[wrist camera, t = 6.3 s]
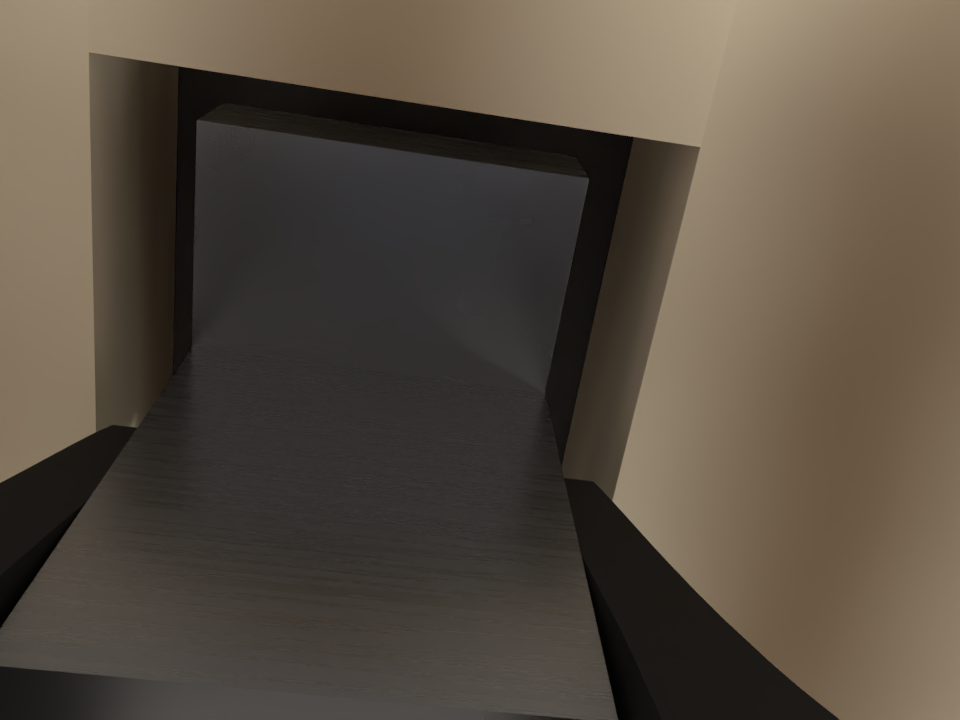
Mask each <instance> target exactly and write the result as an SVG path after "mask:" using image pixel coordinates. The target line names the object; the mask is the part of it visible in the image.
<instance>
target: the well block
mask: <svg viewBox="0 0 960 720" xmlns="http://www.w3.org/2000/svg"><path fill="white" fill-rule="evenodd" d="M178 66H181V67H187V68H193V69H200V70H206V71H213V72H219V73H226V74H232V75H238V76H245V77H251V78H258V79H264V80H271V81H277V82H284V83H290V84H296V85H303V86H309V87H316V88H322V89H329V90H335V91H342V92H348V93H354V94H361V95H367V96H374V97H380V98H387V99H393V100H399V101H406V102H412V103H419V104H425V105H432V106H438V107H445V108H451V109H457V110H464V111H470V112H477V113H483V114H490V115H496V116H503V117H509V118H515V119H522V120H528V121H535V122H541V123H548V124H554V125H560V126H567V127H573V128H580V129H586V130H593V131H599V132H606V133H612V134H618V135H625V136H631V137H634V139H633V143H632V148H631V152H630V157H629V161H628V166H627V171H626V175H625V180H624V184H623V189H622V193H621V198H620V203H619V207H618V212H617V216H616V221H615V225H614V230H613V235H612V239H611V244H610V248H609V253H608V257H607V262H606V266H605V271H604V276H603V280H602V285H601V289H600V294H599V298H598V303H597V308H596V312H595V317H594V321H593V326H592V330H591V335H590V340H589V344H588V349H587V353H586V358H585V362H584V367H583V372H582V376H581V381H580V385H579V390H578V394H577V399H576V404H575V408H574V413H573V417H572V422H571V426H570V431H569V435H568V440H567V445H566V449H565V454H564V458H563V463H562V471H563V476H564V478H569V479H578V480H586V481H593V482H594V483H595V484H596V485H597V486H599V487H600V488H601V489H602V491H603V492H604V493H605V494H606V495H607V496H608V497H609V498H610V499H611V500H612V501H613V502H614V503H615V505H616V506H617V507H618V508H619V509H620V510H621V511H622V512H623V513H624V514H625V516H626V517H627V518H628V519H629V520H630V521H631V522H632V523H633V524H634V526H635V527H636V528H637V529H638V530H639V531H640V532H641V533H642V534H643V535H644V537H645V538H646V539H647V540H648V541H649V542H650V543H651V544H652V545H653V546H654V548H655V549H656V550H657V551H658V552H659V553H660V554H661V555H662V556H663V557H664V558H665V559H666V560H667V562H668V563H669V564H670V565H671V566H672V567H673V568H674V569H675V570H676V571H677V572H678V573H679V574H680V575H681V576H682V577H683V578H684V579H685V581H686V582H687V583H688V584H689V585H690V586H691V587H692V588H693V589H694V590H695V591H696V592H697V593H698V594H699V595H700V596H701V597H702V598H703V599H704V600H705V601H706V602H707V603H708V604H709V605H710V606H711V607H712V608H713V609H714V610H715V611H716V612H717V613H718V614H719V615H720V616H721V617H722V618H723V619H724V620H725V621H726V622H728V623H729V624H730V625H731V626H732V627H733V628H734V629H735V630H736V631H737V632H738V633H739V634H740V635H742V636H743V637H744V638H745V639H746V640H747V641H748V642H749V643H750V644H751V645H752V646H753V647H754V648H756V649H757V650H758V651H759V652H760V653H761V654H762V655H763V656H764V657H765V658H766V659H767V660H769V661H770V662H771V663H772V664H773V665H774V666H775V667H776V668H778V669H779V670H780V671H781V672H782V673H783V674H784V675H786V676H787V677H788V678H789V679H790V680H791V681H793V682H794V683H795V684H796V685H797V686H798V687H800V688H801V689H802V690H803V691H805V692H806V693H807V694H808V695H810V696H811V697H812V698H813V699H815V700H816V701H817V702H818V703H820V704H821V705H822V706H823V707H825V708H826V709H827V710H828V711H830V712H831V713H832V714H833V715H835V716H836V717H837V718H838V719H840V720H960V0H0V483H1V482H3V481H5V480H7V479H8V478H10V477H12V476H14V475H16V474H18V473H20V472H22V471H24V470H26V469H27V468H29V467H31V466H33V465H35V464H37V463H38V462H40V461H42V460H44V459H46V458H48V457H50V456H51V455H53V454H55V453H57V452H59V451H61V450H63V449H64V448H66V447H68V446H70V445H72V444H74V443H76V442H78V441H80V440H82V439H83V438H85V437H87V436H89V435H91V434H93V433H95V432H98V431H100V430H102V429H104V428H107V427H109V426H111V425H118V426H127V427H135V428H138V426H139V425H140V423H141V422H142V420H143V419H144V417H145V416H146V414H147V413H148V411H149V410H150V409H151V407H152V406H153V404H154V403H155V401H156V400H157V398H158V397H159V395H160V394H161V392H162V391H163V389H164V388H165V387H166V385H167V384H168V382H169V381H170V379H171V378H172V376H173V331H174V278H175V224H176V170H177V116H178Z"/></svg>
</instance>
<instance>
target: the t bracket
mask: <svg viewBox="0 0 960 720" xmlns="http://www.w3.org/2000/svg"><path fill="white" fill-rule="evenodd" d="M588 183H589V178H588V176H587V175H586V173H585V172H584V170H583V169H582V167H581V166H580V164H579V163H578V161H577V160H576V158H575V157H574V156H570V155H563V154H557V153H550V152H544V151H537V150H530V149H524V148H517V147H511V146H504V145H498V144H491V143H484V142H478V141H471V140H465V139H458V138H452V137H445V136H439V135H432V134H425V133H419V132H412V131H406V130H399V129H393V128H386V127H379V126H373V125H366V124H360V123H353V122H347V121H340V120H334V119H327V118H320V117H314V116H307V115H301V114H294V113H288V112H281V111H274V110H268V109H261V108H255V107H248V106H242V105H235V104H229V103H224V104H223V105H221V106H219V107H218V108H216V109H214V110H213V111H211V112H209V113H208V114H206V115H204V116H203V117H201V118H199V119H197V130H196V175H195V220H194V266H193V311H192V349H191V350H190V351H189V353H188V354H187V356H186V357H185V359H184V360H183V362H182V363H181V365H180V366H179V368H178V369H177V370H176V372H175V373H174V375H173V376H172V378H171V379H170V381H169V382H168V384H167V385H166V387H165V388H164V389H163V391H162V392H161V394H160V395H159V397H158V398H157V400H156V401H155V403H154V404H153V406H152V407H151V409H150V410H149V411H148V413H147V414H146V416H145V417H144V419H143V420H142V422H141V423H140V425H139V426H138V428H137V429H136V430H135V432H134V433H133V435H132V436H131V438H130V439H129V441H128V442H127V444H126V445H125V447H124V448H123V449H122V451H121V452H120V454H119V455H118V457H117V458H116V460H115V461H114V463H113V464H112V466H111V467H110V469H109V470H108V471H107V473H106V474H105V476H104V477H103V479H102V480H101V482H100V483H99V485H98V486H97V488H96V489H95V490H94V492H93V493H92V495H91V496H90V498H89V499H88V501H87V502H86V504H85V505H84V507H83V508H82V509H81V511H80V512H79V514H78V515H77V517H76V518H75V520H74V521H73V523H72V524H71V526H70V527H69V528H68V530H67V531H66V533H65V534H64V536H63V537H62V539H61V540H60V542H59V543H58V545H57V546H56V548H55V549H54V550H53V552H52V553H51V555H50V556H49V558H48V559H47V561H46V562H45V564H44V565H43V567H42V568H41V569H40V571H39V572H38V574H37V575H36V577H35V578H34V580H33V581H32V583H31V584H30V586H29V587H28V588H27V590H26V591H25V593H24V594H23V596H22V597H21V599H20V600H19V602H18V603H17V605H16V606H15V608H14V609H13V610H12V612H11V613H10V615H9V616H8V618H7V619H6V621H5V622H4V624H3V625H2V627H1V628H0V720H618V717H617V713H616V708H615V704H614V699H613V695H612V690H611V686H610V681H609V677H608V673H607V668H606V664H605V659H604V655H603V650H602V646H601V641H600V637H599V632H598V628H597V623H596V619H595V614H594V610H593V605H592V601H591V596H590V592H589V588H588V583H587V579H586V574H585V570H584V565H583V561H582V556H581V552H580V547H579V543H578V538H577V534H576V529H575V525H574V520H573V516H572V511H571V507H570V503H569V498H568V494H567V489H566V485H565V480H564V476H563V471H562V467H561V462H560V458H559V453H558V449H557V444H556V440H555V435H554V431H553V426H552V422H551V417H550V413H549V409H548V404H547V400H546V395H545V391H546V386H547V381H548V376H549V371H550V366H551V362H552V357H553V352H554V347H555V342H556V337H557V333H558V328H559V323H560V318H561V313H562V309H563V304H564V299H565V294H566V289H567V284H568V280H569V275H570V270H571V265H572V260H573V255H574V251H575V246H576V241H577V236H578V231H579V226H580V222H581V217H582V212H583V207H584V202H585V197H586V193H587V188H588Z"/></svg>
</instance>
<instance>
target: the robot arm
mask: <svg viewBox="0 0 960 720" xmlns="http://www.w3.org/2000/svg"><path fill="white" fill-rule="evenodd" d="M136 429H137V428H135V427H127V426H118V425H111V426H109V427H107V428H104V429H102V430H100V431H98V432H95V433H93V434H91V435H89V436H87V437H85V438H83V439H82V440H80V441H78V442H76V443H74V444H72V445H70V446H68V447H66V448H64V449H63V450H61V451H59V452H57V453H55V454H53V455H51V456H50V457H48V458H46V459H44V460H42V461H40V462H38V463H37V464H35V465H33V466H31V467H29V468H27V469H26V470H24V471H22V472H20V473H18V474H16V475H14V476H12V477H10V478H8V479H7V480H5V481H3V482H1V483H0V628H1V627H2V625H3V624H4V622H5V621H6V619H7V618H8V616H9V615H10V613H11V612H12V610H13V609H14V608H15V606H16V605H17V603H18V602H19V600H20V599H21V597H22V596H23V594H24V593H25V591H26V590H27V588H28V587H29V586H30V584H31V583H32V581H33V580H34V578H35V577H36V575H37V574H38V572H39V571H40V569H41V568H42V567H43V565H44V564H45V562H46V561H47V559H48V558H49V556H50V555H51V553H52V552H53V550H54V549H55V548H56V546H57V545H58V543H59V542H60V540H61V539H62V537H63V536H64V534H65V533H66V531H67V530H68V528H69V527H70V526H71V524H72V523H73V521H74V520H75V518H76V517H77V515H78V514H79V512H80V511H81V509H82V508H83V507H84V505H85V504H86V502H87V501H88V499H89V498H90V496H91V495H92V493H93V492H94V490H95V489H96V488H97V486H98V485H99V483H100V482H101V480H102V479H103V477H104V476H105V474H106V473H107V471H108V470H109V469H110V467H111V466H112V464H113V463H114V461H115V460H116V458H117V457H118V455H119V454H120V452H121V451H122V449H123V448H124V447H125V445H126V444H127V442H128V441H129V439H130V438H131V436H132V435H133V433H134V432H135V430H136ZM564 480H565V485H566V489H567V494H568V498H569V503H570V507H571V511H572V516H573V520H574V525H575V529H576V534H577V538H578V543H579V547H580V552H581V556H582V561H583V565H584V570H585V574H586V579H587V583H588V588H589V592H590V596H591V601H592V605H593V610H594V614H595V619H596V623H597V628H598V632H599V637H600V641H601V646H602V650H603V655H604V659H605V664H606V668H607V673H608V677H609V681H610V686H611V690H612V695H613V699H614V704H615V708H616V713H617V717H618V720H840V719H838V718H837V717H836V716H835V715H833V714H832V713H831V712H830V711H828V710H827V709H826V708H825V707H823V706H822V705H821V704H820V703H818V702H817V701H816V700H815V699H813V698H812V697H811V696H810V695H808V694H807V693H806V692H805V691H803V690H802V689H801V688H800V687H798V686H797V685H796V684H795V683H794V682H793V681H791V680H790V679H789V678H788V677H787V676H786V675H784V674H783V673H782V672H781V671H780V670H779V669H778V668H776V667H775V666H774V665H773V664H772V663H771V662H770V661H769V660H767V659H766V658H765V657H764V656H763V655H762V654H761V653H760V652H759V651H758V650H757V649H756V648H754V647H753V646H752V645H751V644H750V643H749V642H748V641H747V640H746V639H745V638H744V637H743V636H742V635H740V634H739V633H738V632H737V631H736V630H735V629H734V628H733V627H732V626H731V625H730V624H729V623H728V622H726V621H725V620H724V619H723V618H722V617H721V616H720V615H719V614H718V613H717V612H716V611H715V610H714V609H713V608H712V607H711V606H710V605H709V604H708V603H707V602H706V601H705V600H704V599H703V598H702V597H701V596H700V595H699V594H698V593H697V592H696V591H695V590H694V589H693V588H692V587H691V586H690V585H689V584H688V583H687V582H686V581H685V579H684V578H683V577H682V576H681V575H680V574H679V573H678V572H677V571H676V570H675V569H674V568H673V567H672V566H671V565H670V564H669V563H668V562H667V560H666V559H665V558H664V557H663V556H662V555H661V554H660V553H659V552H658V551H657V550H656V549H655V548H654V546H653V545H652V544H651V543H650V542H649V541H648V540H647V539H646V538H645V537H644V535H643V534H642V533H641V532H640V531H639V530H638V529H637V528H636V527H635V526H634V524H633V523H632V522H631V521H630V520H629V519H628V518H627V517H626V516H625V514H624V513H623V512H622V511H621V510H620V509H619V508H618V507H617V506H616V505H615V503H614V502H613V501H612V500H611V499H610V498H609V497H608V496H607V495H606V494H605V493H604V492H603V491H602V489H601V488H600V487H599V486H597V485H596V484H595V483H594V482H593V481H586V480H578V479H569V478H564Z"/></svg>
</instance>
